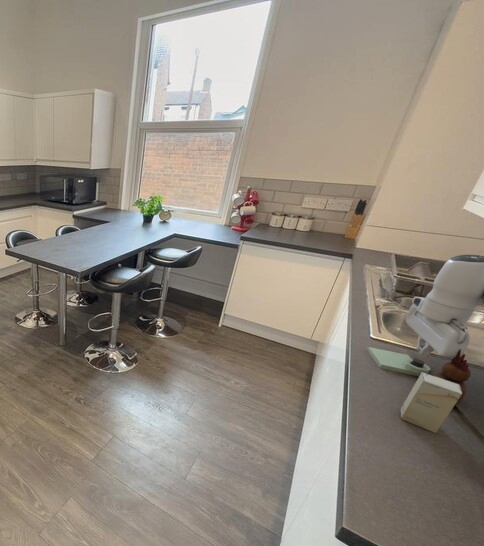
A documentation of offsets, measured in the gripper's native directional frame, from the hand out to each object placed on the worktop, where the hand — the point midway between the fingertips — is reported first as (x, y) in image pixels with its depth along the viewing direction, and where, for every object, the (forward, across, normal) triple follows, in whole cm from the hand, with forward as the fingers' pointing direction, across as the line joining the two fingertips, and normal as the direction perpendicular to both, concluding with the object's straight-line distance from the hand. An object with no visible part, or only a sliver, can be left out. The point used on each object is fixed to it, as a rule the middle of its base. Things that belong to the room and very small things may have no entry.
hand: (422, 352), depth 90 cm
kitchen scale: (+7, +3, +3) cm, 8 cm away
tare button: (+4, 0, 0) cm, 4 cm away
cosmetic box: (+7, -24, +8) cm, 26 cm away
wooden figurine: (+7, -12, -1) cm, 14 cm away
